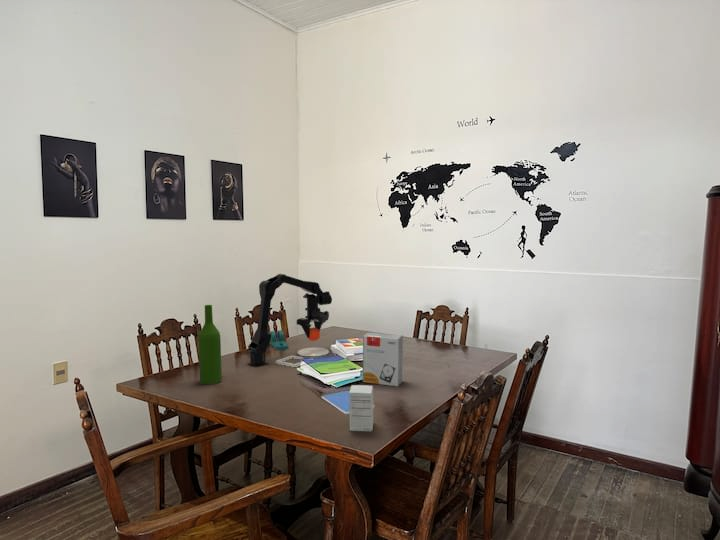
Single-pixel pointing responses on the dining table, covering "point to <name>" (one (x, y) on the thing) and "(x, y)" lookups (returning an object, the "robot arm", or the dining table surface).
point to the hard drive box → (382, 358)
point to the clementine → (314, 334)
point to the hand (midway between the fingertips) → (312, 336)
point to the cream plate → (313, 351)
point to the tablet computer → (339, 401)
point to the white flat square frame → (289, 363)
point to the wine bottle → (209, 350)
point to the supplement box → (361, 408)
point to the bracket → (278, 340)
